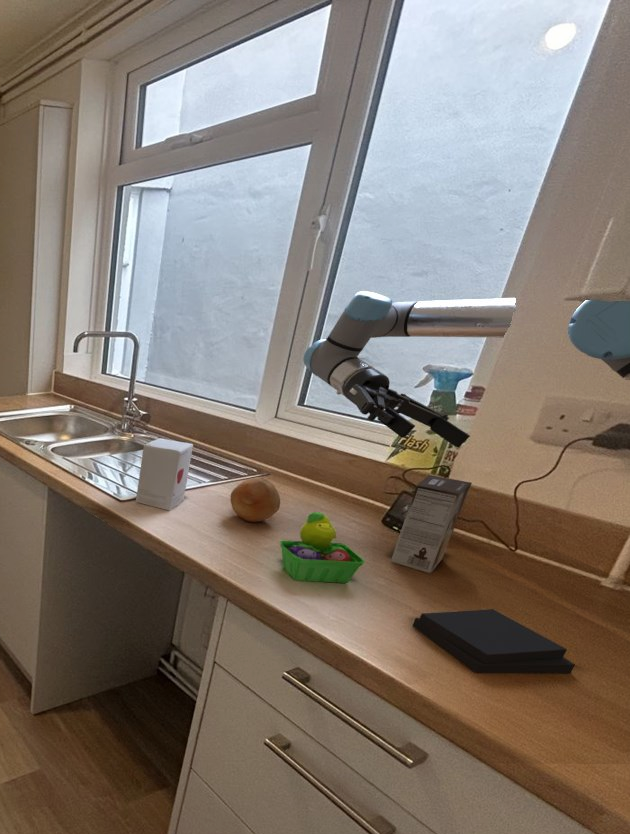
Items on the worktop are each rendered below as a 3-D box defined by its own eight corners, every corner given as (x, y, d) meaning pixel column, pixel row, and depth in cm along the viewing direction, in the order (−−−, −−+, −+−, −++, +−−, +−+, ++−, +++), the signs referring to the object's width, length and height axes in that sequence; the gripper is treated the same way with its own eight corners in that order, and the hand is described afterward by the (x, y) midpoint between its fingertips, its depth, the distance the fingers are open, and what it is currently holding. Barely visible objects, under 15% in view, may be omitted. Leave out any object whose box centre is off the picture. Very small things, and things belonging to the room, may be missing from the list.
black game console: (494, 624, 83) (501, 608, 81) (570, 673, 72) (580, 655, 71) (408, 624, 83) (414, 608, 82) (472, 673, 72) (480, 655, 71)
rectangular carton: (170, 511, 126) (179, 451, 120) (134, 502, 131) (142, 444, 126) (184, 501, 132) (194, 443, 126) (150, 492, 137) (158, 437, 132)
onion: (224, 509, 127) (232, 469, 123) (270, 514, 124) (280, 474, 120) (229, 524, 118) (237, 483, 115) (279, 530, 115) (289, 488, 111)
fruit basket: (290, 583, 95) (305, 526, 90) (270, 560, 103) (283, 507, 98) (359, 587, 93) (378, 530, 89) (333, 564, 101) (349, 510, 97)
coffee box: (402, 548, 107) (428, 473, 101) (442, 559, 103) (473, 482, 96) (389, 561, 102) (416, 484, 96) (431, 574, 97) (462, 493, 91)
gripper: (391, 406, 120) (468, 460, 104) (302, 389, 115) (370, 444, 99) (416, 376, 116) (501, 429, 100) (325, 357, 110) (400, 409, 94)
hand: (436, 436), depth 99 cm, fingers open, 13 cm apart
